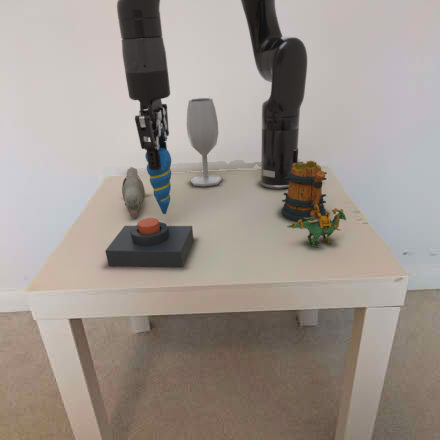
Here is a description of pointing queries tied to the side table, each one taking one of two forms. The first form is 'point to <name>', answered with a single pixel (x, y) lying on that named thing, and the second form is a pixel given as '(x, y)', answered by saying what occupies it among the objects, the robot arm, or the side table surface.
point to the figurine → (320, 225)
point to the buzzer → (151, 247)
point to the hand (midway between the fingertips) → (159, 164)
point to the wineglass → (203, 135)
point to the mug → (304, 192)
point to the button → (148, 226)
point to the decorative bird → (133, 191)
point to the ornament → (161, 179)
